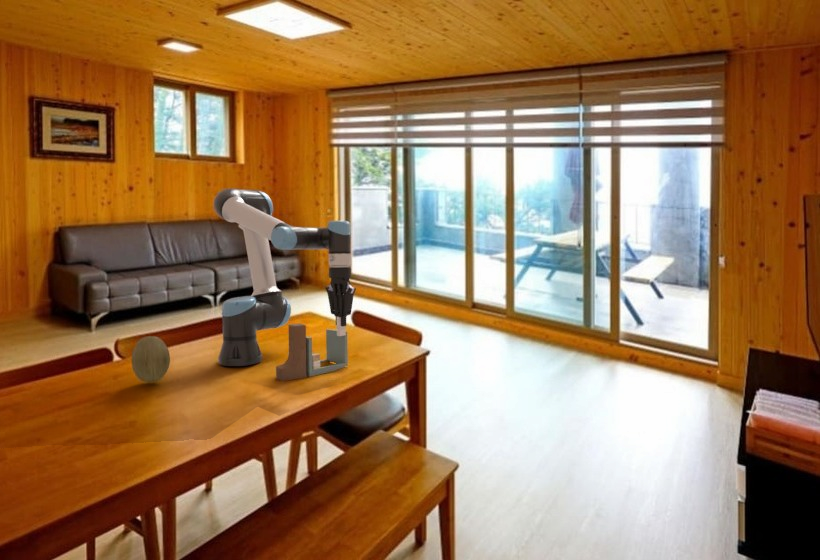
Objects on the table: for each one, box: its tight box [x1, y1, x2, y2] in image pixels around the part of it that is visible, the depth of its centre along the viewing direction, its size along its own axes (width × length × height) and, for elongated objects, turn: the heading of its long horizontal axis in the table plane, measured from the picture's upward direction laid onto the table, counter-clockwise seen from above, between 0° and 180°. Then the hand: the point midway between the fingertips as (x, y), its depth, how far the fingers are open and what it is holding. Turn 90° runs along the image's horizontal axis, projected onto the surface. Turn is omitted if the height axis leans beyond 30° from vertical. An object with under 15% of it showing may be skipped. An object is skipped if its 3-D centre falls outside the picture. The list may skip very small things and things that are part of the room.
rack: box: [306, 328, 349, 378], centre depth 193 cm, size 10×17×13 cm, turn 139°
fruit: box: [131, 335, 171, 383], centre depth 178 cm, size 11×11×15 cm
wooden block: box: [275, 323, 307, 382], centre depth 182 cm, size 9×4×18 cm, turn 125°
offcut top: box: [312, 352, 321, 362], centre depth 189 cm, size 6×3×2 cm, turn 50°
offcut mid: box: [312, 359, 321, 369], centre depth 189 cm, size 7×3×2 cm, turn 52°
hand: (341, 335), depth 188 cm, fingers closed
